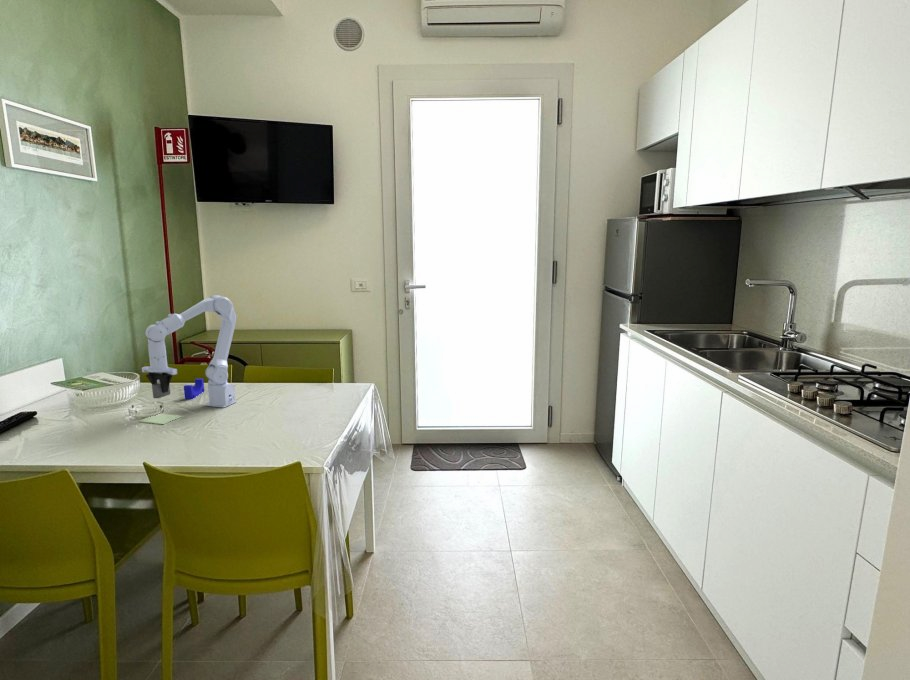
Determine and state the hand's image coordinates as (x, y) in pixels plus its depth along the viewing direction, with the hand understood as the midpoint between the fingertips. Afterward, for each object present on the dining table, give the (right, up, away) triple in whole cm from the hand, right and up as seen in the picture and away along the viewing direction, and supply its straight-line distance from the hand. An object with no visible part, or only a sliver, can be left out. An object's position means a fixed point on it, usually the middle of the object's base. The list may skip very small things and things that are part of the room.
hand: (161, 391), depth 203 cm
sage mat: (+2, -10, -4) cm, 11 cm away
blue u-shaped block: (-1, -5, +26) cm, 27 cm away
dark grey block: (0, -2, 0) cm, 2 cm away
